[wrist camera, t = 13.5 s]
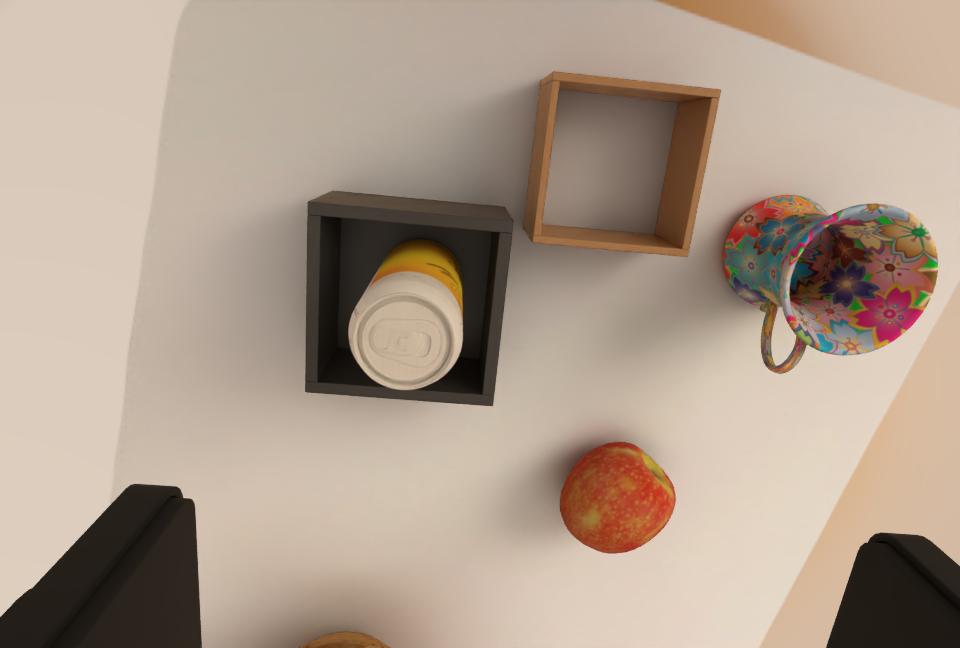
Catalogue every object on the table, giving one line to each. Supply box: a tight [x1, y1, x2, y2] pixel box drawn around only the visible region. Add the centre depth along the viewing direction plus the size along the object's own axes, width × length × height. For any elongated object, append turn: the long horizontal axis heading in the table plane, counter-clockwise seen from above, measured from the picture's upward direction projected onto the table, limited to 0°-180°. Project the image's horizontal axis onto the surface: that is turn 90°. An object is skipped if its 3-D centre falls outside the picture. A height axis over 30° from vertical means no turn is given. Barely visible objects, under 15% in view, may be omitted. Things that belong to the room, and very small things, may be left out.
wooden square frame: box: [523, 72, 721, 257], centre depth 41 cm, size 10×10×6 cm
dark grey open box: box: [305, 191, 514, 406], centre depth 43 cm, size 13×13×8 cm
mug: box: [723, 195, 938, 374], centre depth 42 cm, size 12×9×11 cm
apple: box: [560, 442, 676, 553], centre depth 48 cm, size 8×8×8 cm
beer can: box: [348, 239, 463, 390], centre depth 39 cm, size 6×6×15 cm
